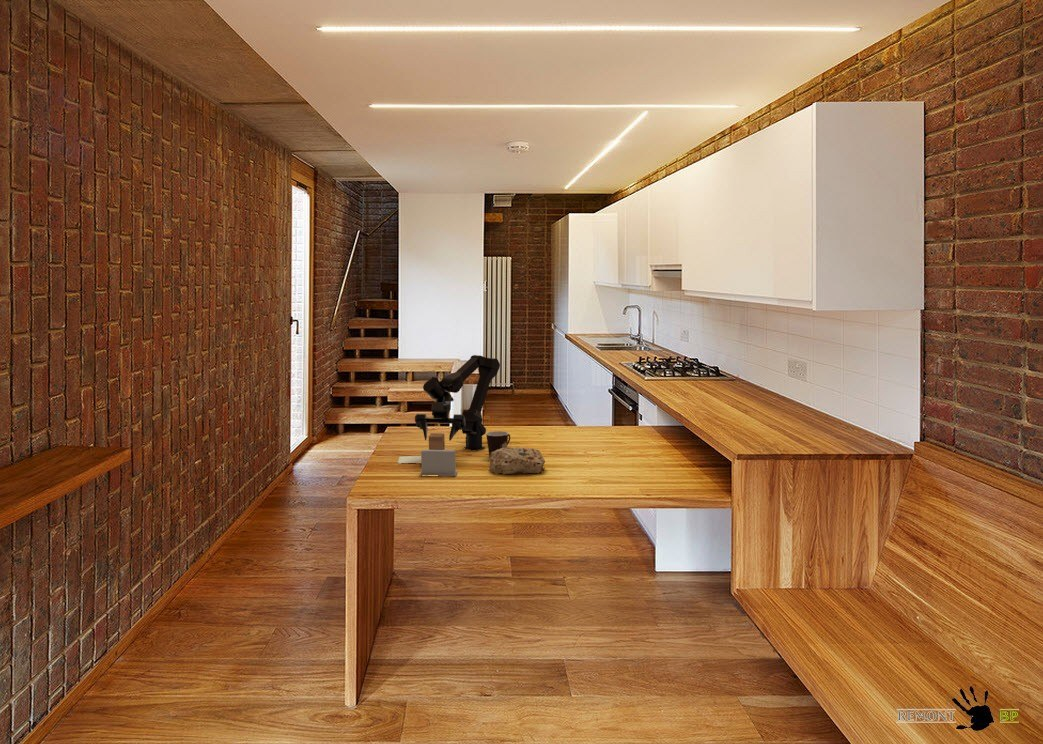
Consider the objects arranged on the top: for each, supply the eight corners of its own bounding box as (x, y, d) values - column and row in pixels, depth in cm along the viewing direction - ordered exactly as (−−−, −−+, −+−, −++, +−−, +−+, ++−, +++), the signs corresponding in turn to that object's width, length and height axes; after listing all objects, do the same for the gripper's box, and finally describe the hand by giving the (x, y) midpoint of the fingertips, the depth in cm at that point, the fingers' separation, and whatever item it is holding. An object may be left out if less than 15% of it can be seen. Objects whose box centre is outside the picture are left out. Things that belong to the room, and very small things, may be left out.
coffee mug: (492, 462, 288) (492, 436, 287) (482, 457, 296) (482, 432, 294) (519, 458, 293) (519, 433, 292) (509, 453, 301) (509, 429, 300)
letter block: (431, 467, 282) (431, 433, 280) (445, 467, 282) (444, 433, 280) (429, 470, 277) (428, 436, 275) (442, 471, 276) (441, 436, 275)
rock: (540, 466, 286) (543, 443, 282) (545, 485, 272) (549, 461, 269) (486, 463, 283) (489, 439, 279) (489, 482, 269) (492, 457, 266)
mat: (424, 463, 288) (424, 462, 288) (398, 464, 287) (398, 463, 287) (425, 456, 298) (425, 455, 297) (399, 457, 296) (399, 456, 296)
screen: (457, 473, 273) (457, 449, 272) (455, 476, 269) (455, 452, 267) (422, 473, 274) (421, 448, 273) (419, 476, 270) (419, 451, 268)
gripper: (415, 393, 285) (409, 427, 275) (464, 393, 283) (459, 428, 274) (419, 409, 294) (414, 443, 284) (467, 410, 292) (463, 444, 283)
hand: (437, 439), depth 281 cm, fingers open, 9 cm apart
